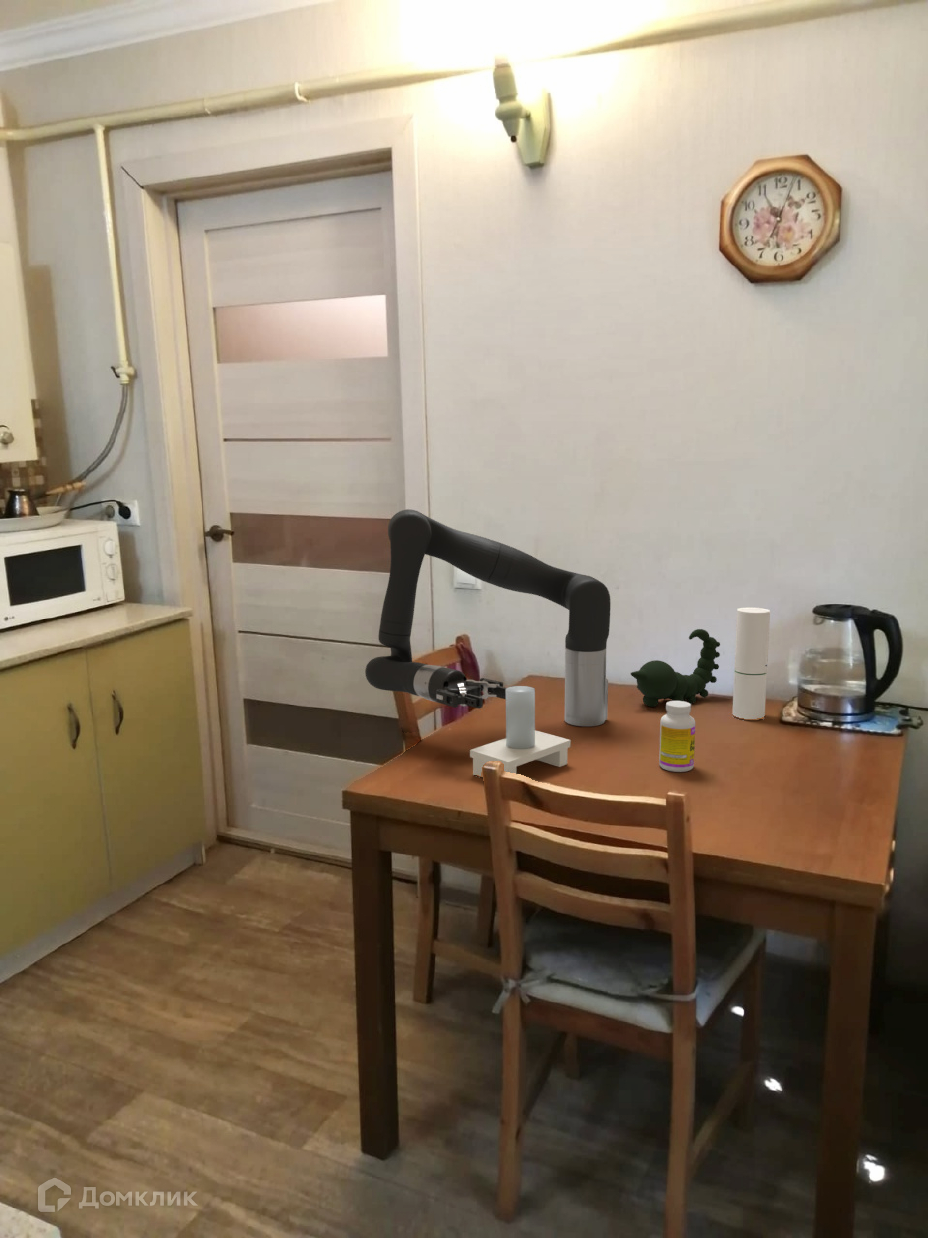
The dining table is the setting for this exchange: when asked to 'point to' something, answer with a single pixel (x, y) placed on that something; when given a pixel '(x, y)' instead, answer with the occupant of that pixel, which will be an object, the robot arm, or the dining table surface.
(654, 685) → the toy figurine
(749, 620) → the cylindrical container
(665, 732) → the supplement bottle
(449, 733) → the dining table surface
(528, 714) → the white rounded cylinder
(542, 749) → the white riser stand
